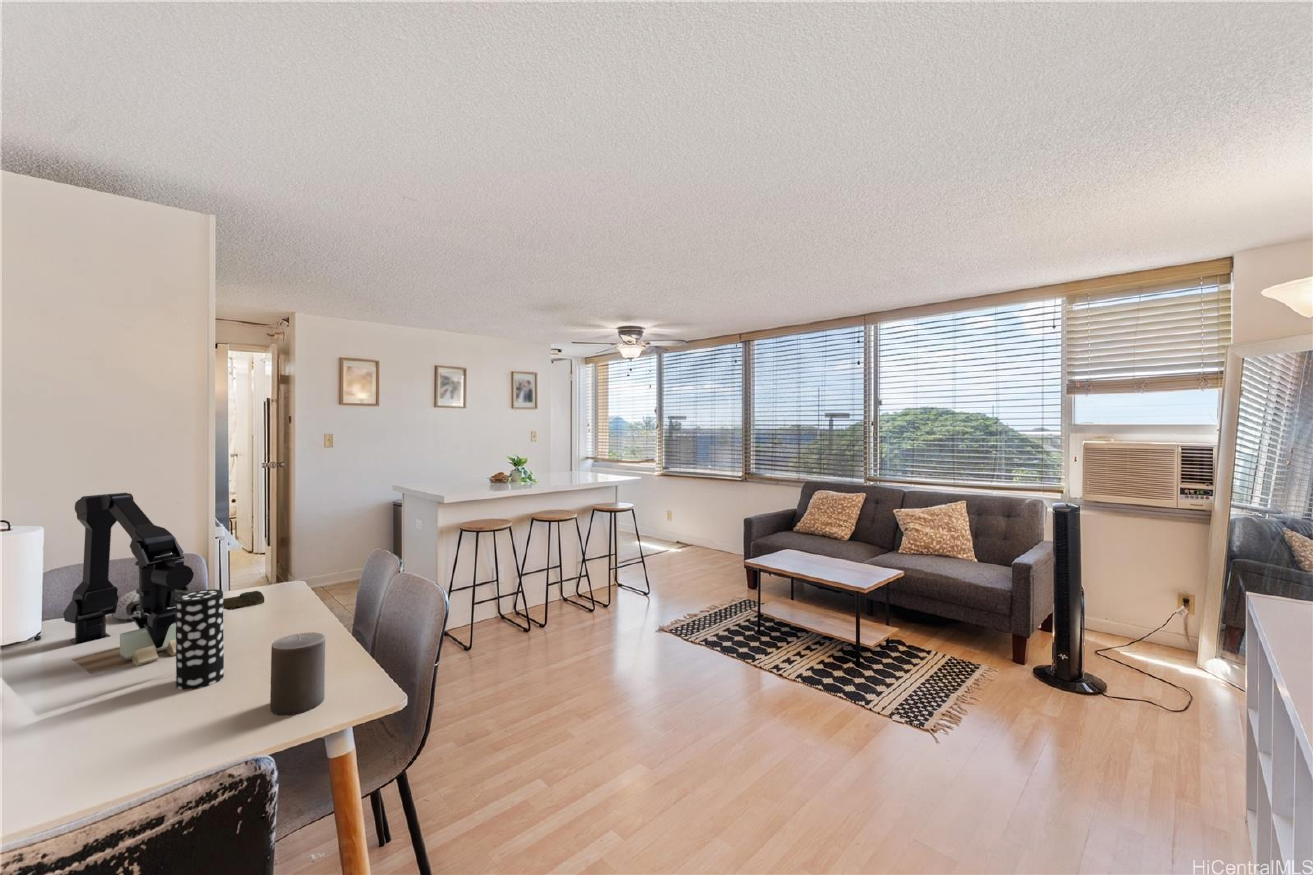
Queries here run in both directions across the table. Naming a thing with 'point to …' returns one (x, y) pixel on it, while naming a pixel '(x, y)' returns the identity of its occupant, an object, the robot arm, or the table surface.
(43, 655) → the table surface
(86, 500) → the robot arm
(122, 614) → the sea urchin shell
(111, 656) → the walnut board
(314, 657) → the pillar candle
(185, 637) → the spotted tube
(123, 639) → the sanding block
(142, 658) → the pine offcut left
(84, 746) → the table surface
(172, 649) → the pine offcut right
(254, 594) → the hand tool
